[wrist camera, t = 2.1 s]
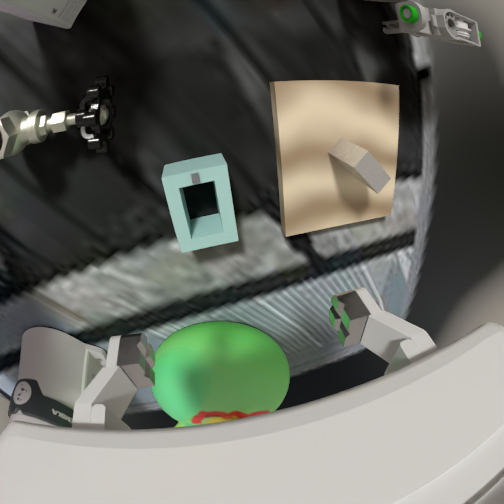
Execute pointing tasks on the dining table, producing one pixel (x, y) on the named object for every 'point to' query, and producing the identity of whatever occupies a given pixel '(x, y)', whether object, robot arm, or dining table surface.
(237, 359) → the toy bird
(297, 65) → the dining table surface
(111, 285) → the dining table surface
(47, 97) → the dining table surface
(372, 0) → the pipe fitting
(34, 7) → the skincare box
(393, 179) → the oak plate
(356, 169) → the steel key shaft
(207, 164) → the teal collar
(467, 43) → the mechanical component
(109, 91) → the valve
